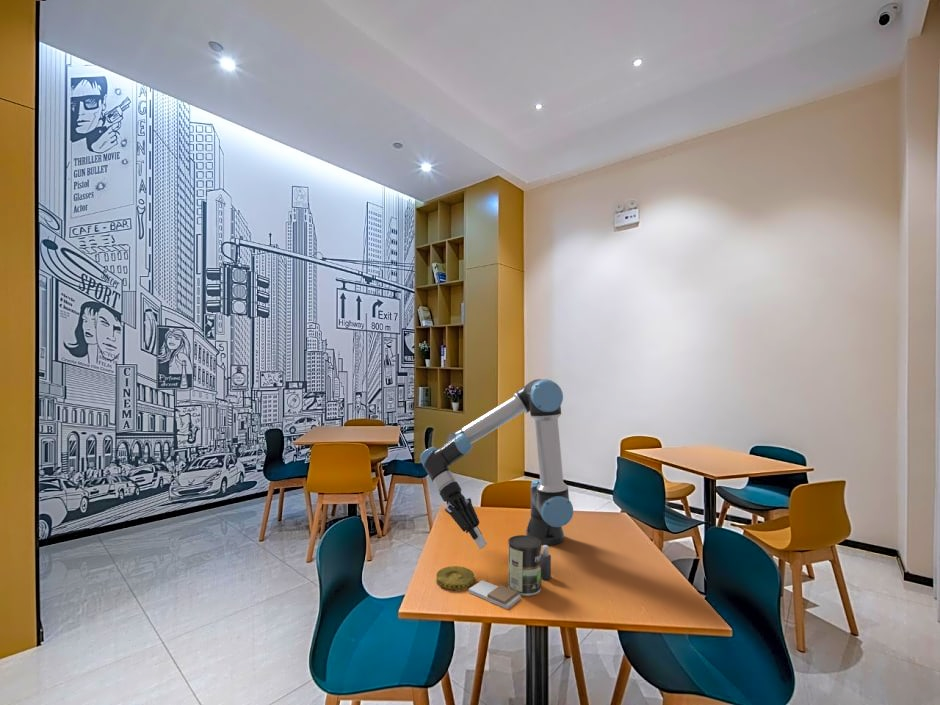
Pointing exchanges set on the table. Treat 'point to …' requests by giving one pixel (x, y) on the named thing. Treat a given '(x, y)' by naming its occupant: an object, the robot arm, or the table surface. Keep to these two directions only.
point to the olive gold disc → (455, 578)
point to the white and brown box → (495, 594)
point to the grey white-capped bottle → (545, 564)
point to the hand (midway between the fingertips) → (483, 546)
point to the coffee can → (524, 565)
